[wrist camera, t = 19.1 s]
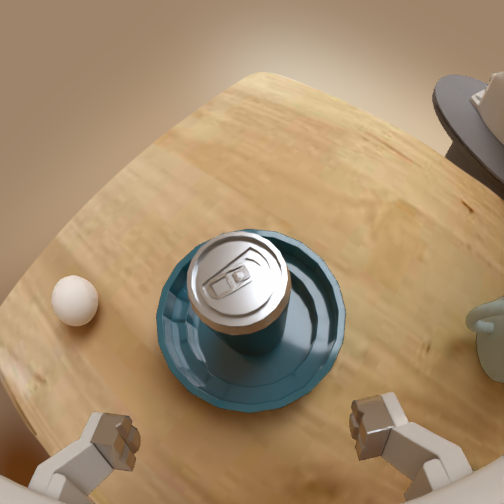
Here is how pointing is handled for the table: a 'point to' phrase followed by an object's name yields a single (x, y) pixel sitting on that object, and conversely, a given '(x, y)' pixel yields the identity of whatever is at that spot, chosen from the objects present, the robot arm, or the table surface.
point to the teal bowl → (265, 365)
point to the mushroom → (74, 300)
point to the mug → (489, 337)
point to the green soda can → (241, 291)
